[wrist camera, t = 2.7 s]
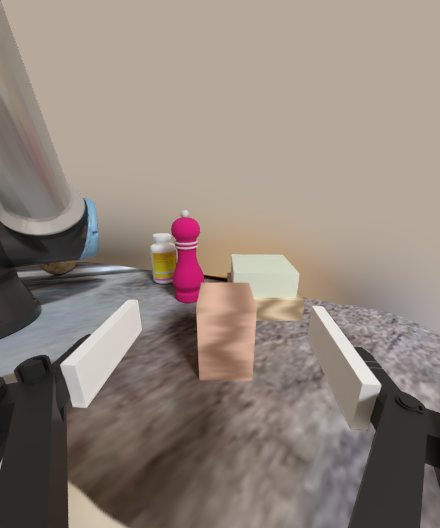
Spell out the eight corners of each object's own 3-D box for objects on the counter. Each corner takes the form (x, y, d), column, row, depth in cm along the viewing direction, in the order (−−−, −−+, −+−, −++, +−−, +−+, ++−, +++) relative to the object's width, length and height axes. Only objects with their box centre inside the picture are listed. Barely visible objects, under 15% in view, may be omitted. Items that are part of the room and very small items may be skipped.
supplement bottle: (181, 281, 59) (178, 235, 55) (157, 286, 55) (152, 238, 51) (172, 273, 64) (169, 231, 60) (150, 278, 61) (145, 234, 57)
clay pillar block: (199, 380, 28) (196, 307, 24) (203, 344, 35) (201, 282, 31) (252, 380, 28) (256, 307, 24) (245, 344, 35) (248, 282, 31)
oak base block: (229, 322, 41) (229, 299, 40) (227, 290, 54) (227, 272, 53) (301, 322, 41) (304, 300, 40) (281, 290, 54) (283, 272, 53)
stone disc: (52, 279, 60) (42, 245, 57) (41, 278, 61) (31, 244, 58) (82, 267, 70) (75, 237, 66) (73, 266, 71) (65, 236, 67)
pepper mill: (207, 301, 48) (205, 210, 41) (174, 306, 46) (167, 211, 40) (201, 288, 54) (199, 208, 48) (173, 291, 53) (166, 208, 46)
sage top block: (233, 297, 40) (233, 273, 39) (231, 274, 52) (231, 254, 50) (296, 297, 40) (299, 273, 39) (280, 274, 52) (282, 254, 50)
